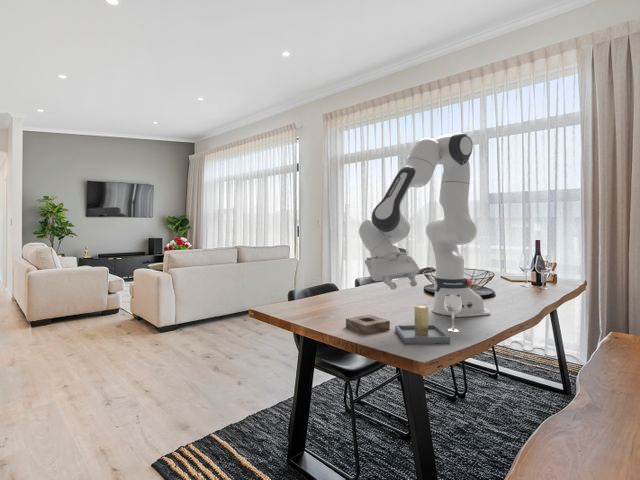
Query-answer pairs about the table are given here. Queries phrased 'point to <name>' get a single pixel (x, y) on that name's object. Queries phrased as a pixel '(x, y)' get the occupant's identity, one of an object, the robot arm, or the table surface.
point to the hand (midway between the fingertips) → (404, 287)
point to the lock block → (367, 324)
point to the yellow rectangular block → (421, 320)
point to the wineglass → (453, 308)
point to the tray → (410, 337)
